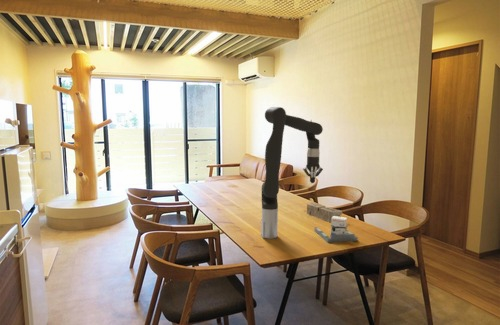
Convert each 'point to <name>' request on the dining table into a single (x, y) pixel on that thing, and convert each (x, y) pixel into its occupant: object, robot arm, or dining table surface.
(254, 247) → the dining table surface
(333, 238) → the channel
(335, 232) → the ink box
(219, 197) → the dining table surface
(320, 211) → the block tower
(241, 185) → the dining table surface
